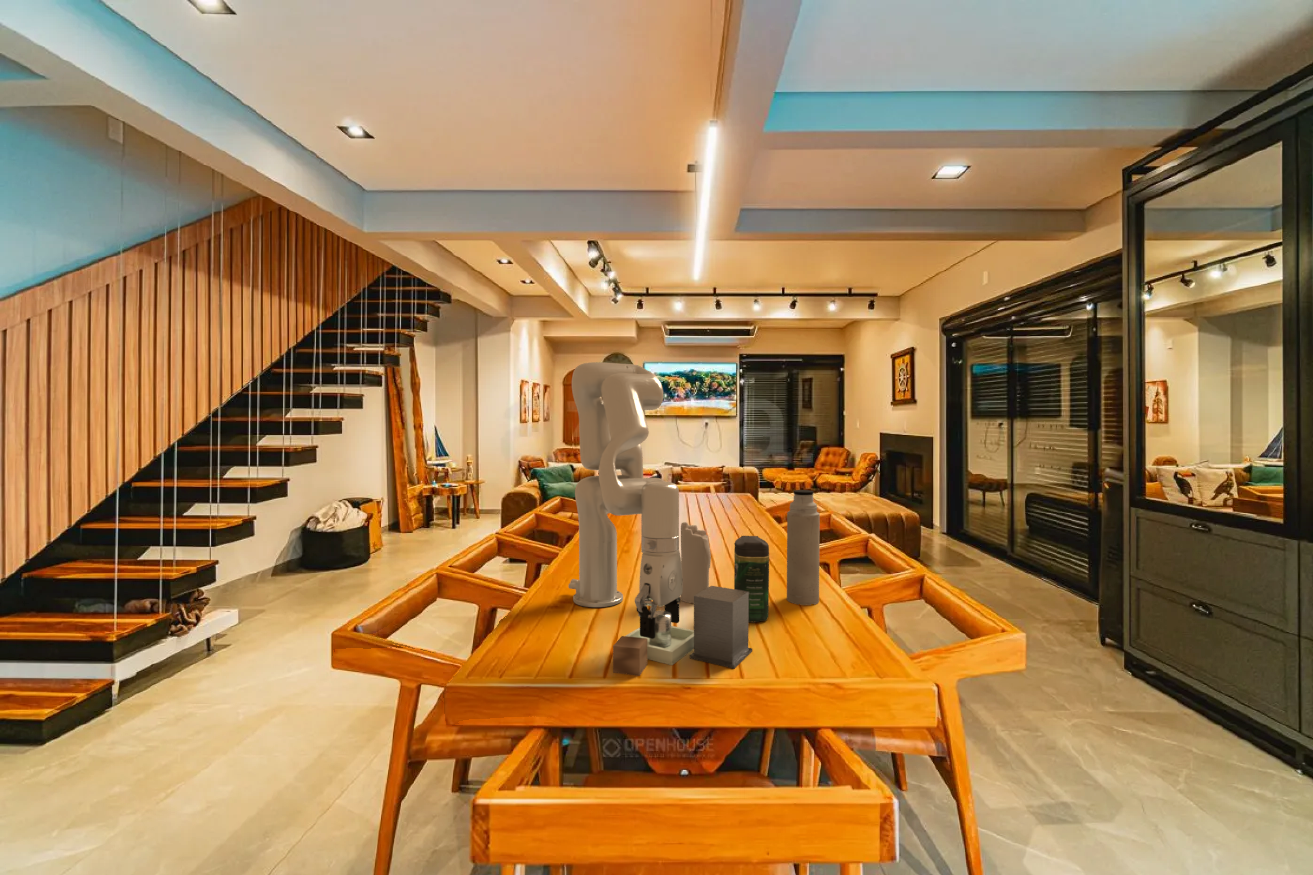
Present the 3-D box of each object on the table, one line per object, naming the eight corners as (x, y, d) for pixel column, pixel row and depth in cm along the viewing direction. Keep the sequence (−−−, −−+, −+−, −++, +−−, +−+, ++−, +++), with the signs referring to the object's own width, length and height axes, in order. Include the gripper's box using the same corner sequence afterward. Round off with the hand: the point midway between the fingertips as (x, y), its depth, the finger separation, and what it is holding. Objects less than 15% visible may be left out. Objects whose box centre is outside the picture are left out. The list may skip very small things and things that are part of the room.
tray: (618, 652, 114) (618, 639, 113) (649, 633, 124) (649, 621, 124) (672, 665, 108) (672, 651, 107) (700, 643, 118) (700, 631, 118)
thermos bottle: (792, 593, 152) (793, 487, 151) (823, 598, 148) (823, 489, 147) (782, 601, 145) (782, 491, 145) (813, 607, 141) (814, 493, 140)
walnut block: (613, 673, 104) (613, 645, 104) (622, 662, 109) (621, 635, 109) (639, 676, 103) (639, 648, 103) (647, 664, 108) (647, 638, 108)
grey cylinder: (645, 645, 115) (645, 615, 115) (656, 638, 119) (656, 609, 119) (664, 649, 113) (664, 619, 113) (675, 642, 117) (675, 612, 116)
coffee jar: (771, 623, 130) (772, 541, 129) (736, 623, 130) (736, 541, 129) (765, 609, 139) (765, 533, 139) (732, 609, 140) (732, 533, 139)
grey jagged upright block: (732, 607, 141) (732, 525, 141) (677, 601, 145) (677, 522, 145) (736, 598, 148) (737, 520, 148) (684, 593, 152) (684, 518, 152)
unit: (689, 658, 111) (689, 596, 110) (709, 642, 119) (709, 584, 118) (734, 668, 106) (734, 603, 106) (752, 651, 114) (752, 591, 114)
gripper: (654, 555, 106) (654, 647, 106) (696, 538, 121) (696, 619, 121) (620, 550, 110) (620, 639, 110) (664, 535, 124) (664, 613, 125)
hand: (660, 629), depth 116 cm, fingers open, 9 cm apart
